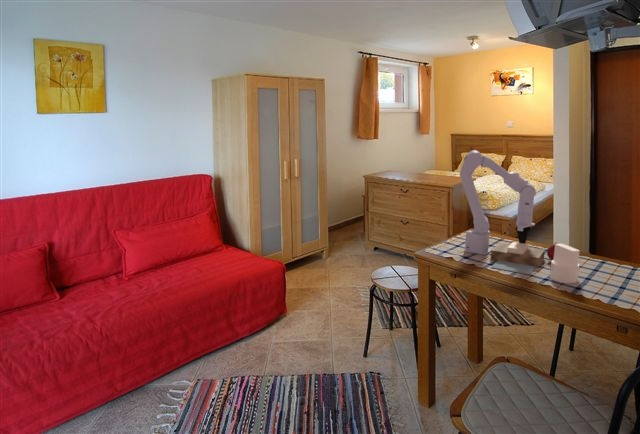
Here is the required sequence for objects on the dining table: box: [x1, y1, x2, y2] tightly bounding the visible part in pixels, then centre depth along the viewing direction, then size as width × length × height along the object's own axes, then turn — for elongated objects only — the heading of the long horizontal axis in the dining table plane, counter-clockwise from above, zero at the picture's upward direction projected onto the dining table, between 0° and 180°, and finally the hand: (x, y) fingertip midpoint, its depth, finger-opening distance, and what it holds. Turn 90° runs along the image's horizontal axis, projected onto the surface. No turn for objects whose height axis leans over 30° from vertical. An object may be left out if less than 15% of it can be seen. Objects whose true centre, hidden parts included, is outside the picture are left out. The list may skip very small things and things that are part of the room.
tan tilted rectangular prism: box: [507, 241, 529, 255], centre depth 181 cm, size 6×9×2 cm, turn 144°
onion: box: [546, 242, 559, 261], centre depth 178 cm, size 6×6×8 cm
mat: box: [490, 260, 536, 276], centre depth 174 cm, size 14×10×1 cm
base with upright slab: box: [549, 243, 581, 284], centre depth 160 cm, size 9×9×12 cm
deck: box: [490, 242, 546, 269], centre depth 183 cm, size 18×12×4 cm, turn 54°
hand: (522, 243), depth 188 cm, fingers closed
